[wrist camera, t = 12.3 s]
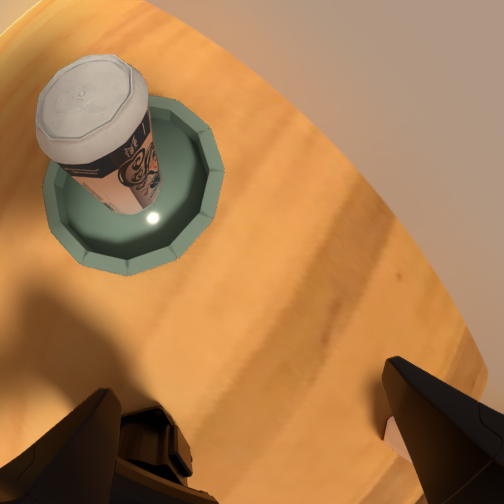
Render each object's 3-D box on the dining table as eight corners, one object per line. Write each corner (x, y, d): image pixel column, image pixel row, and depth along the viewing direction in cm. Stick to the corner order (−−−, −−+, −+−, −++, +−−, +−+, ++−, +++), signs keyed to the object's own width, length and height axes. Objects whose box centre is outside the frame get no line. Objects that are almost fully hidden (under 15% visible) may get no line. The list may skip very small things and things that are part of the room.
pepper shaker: (385, 417, 25) (444, 452, 15) (410, 405, 26) (468, 433, 16) (380, 443, 24) (433, 481, 15) (405, 431, 25) (457, 462, 16)
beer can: (166, 209, 19) (150, 135, 8) (104, 222, 18) (20, 171, 7) (158, 148, 19) (145, 35, 8) (98, 161, 18) (35, 66, 7)
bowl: (80, 294, 18) (67, 298, 16) (50, 144, 18) (38, 130, 15) (238, 240, 22) (247, 236, 19) (192, 96, 21) (194, 78, 19)
